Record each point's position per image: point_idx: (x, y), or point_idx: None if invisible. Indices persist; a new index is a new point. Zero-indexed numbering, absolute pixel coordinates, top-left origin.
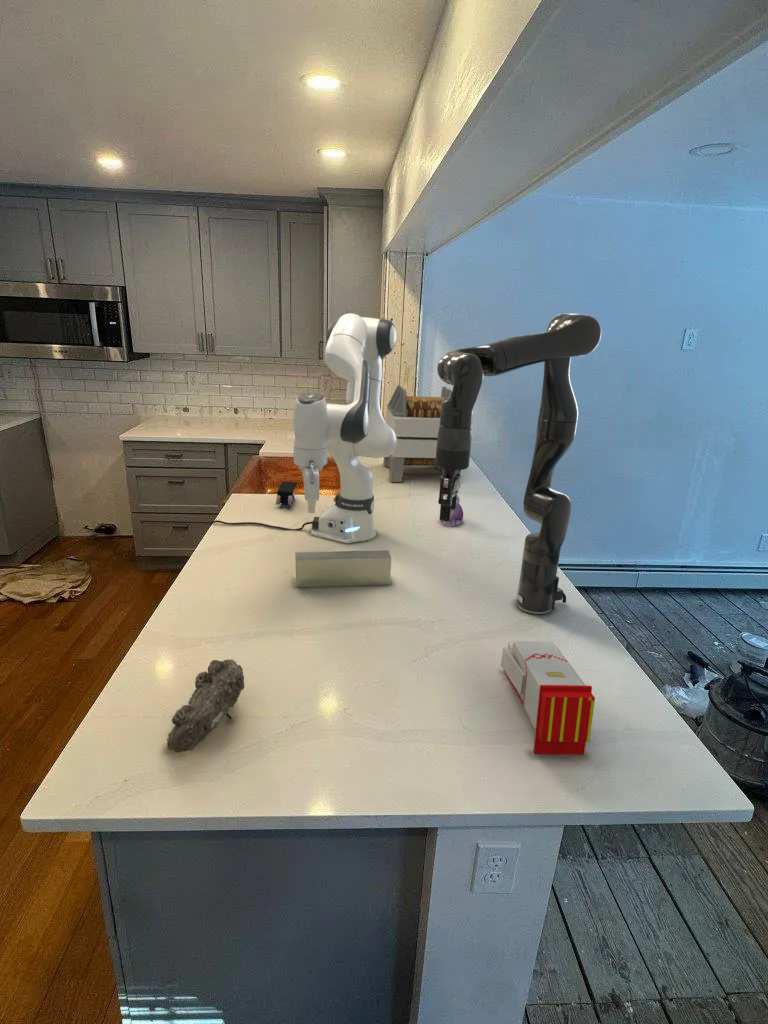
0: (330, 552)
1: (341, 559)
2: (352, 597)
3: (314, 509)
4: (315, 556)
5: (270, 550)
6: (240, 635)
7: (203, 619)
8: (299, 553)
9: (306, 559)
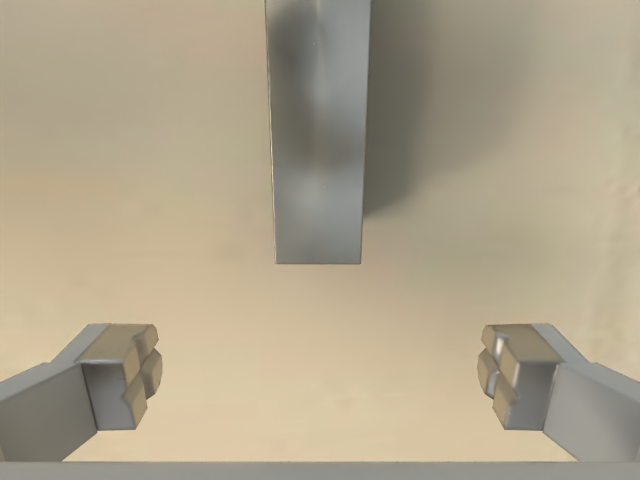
0: (282, 97)
1: (369, 41)
2: (457, 13)
3: (563, 343)
4: (327, 177)
5: (52, 306)
6: (598, 359)
7: (495, 438)
8: (290, 247)
9: (359, 219)
